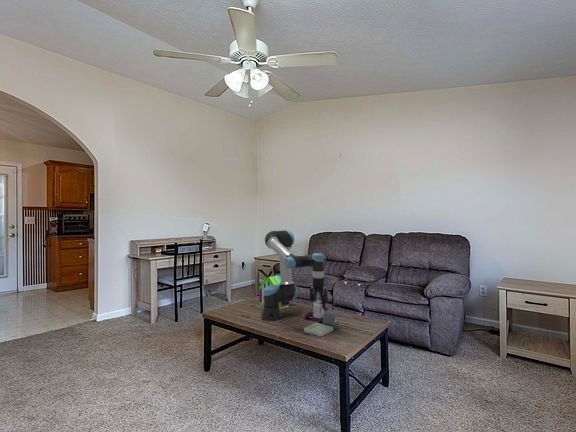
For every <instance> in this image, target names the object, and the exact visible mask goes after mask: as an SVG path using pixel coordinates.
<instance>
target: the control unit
mask: <svg viewBox="0 0 576 432" xmlns="http://www.w3.org/2000/svg"><path fill="white" fill-rule="evenodd" d="M322 324H323V325H328V326H332V327H333V331H336V330H337V329H338V328H339V312H337V311H336V312H335V311H330V310H328V311H325V312H324V317H323V320H322Z"/></svg>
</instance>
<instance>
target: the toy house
mask: <svg viewBox="0 0 576 432" xmlns="http://www.w3.org/2000/svg"><path fill="white" fill-rule="evenodd" d="M280 282H281V275H280V274H278V275H273V276H268V277H266V279H264V281H263V282H262V283H261V285H259V287H258V304H259V305H261V306H263V307H264V300H263V291H264V288H265V287H267V286H270V285H278V286H279V283H280ZM290 302H291V301H286V302H280V303H279V308H280V310H282V309H286V308H287V309H288V308H289V307H291V306H290V305H291V304H290Z"/></svg>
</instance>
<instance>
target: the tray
mask: <svg viewBox="0 0 576 432" xmlns="http://www.w3.org/2000/svg"><path fill="white" fill-rule="evenodd" d="M333 331H334V330H333V327H332V326H328V325H323V323H320V322H319V323H318V322H315V323H313V324H310V325H309V326H306V327H304V330H303V332H304V333H307V334H311V335H314V336H318V337H322V338H323V337H324V336H326V335H327V334H330V333H331V332H333Z"/></svg>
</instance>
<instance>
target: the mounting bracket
mask: <svg viewBox="0 0 576 432" xmlns="http://www.w3.org/2000/svg"><path fill="white" fill-rule="evenodd" d="M325 311H329V309H328V307H327V306H325V309H324V312H325ZM304 317H305V318H308V317H312V319H313V321H314V322H315V323H319V324H320V323H322V322H323V317H321V318H317V317H313V311H309V312H308V313H305V314H304Z"/></svg>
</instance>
